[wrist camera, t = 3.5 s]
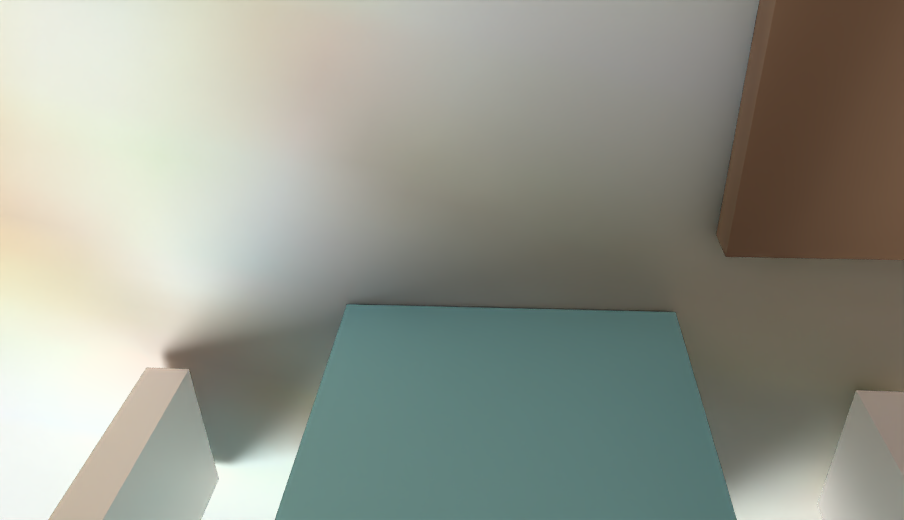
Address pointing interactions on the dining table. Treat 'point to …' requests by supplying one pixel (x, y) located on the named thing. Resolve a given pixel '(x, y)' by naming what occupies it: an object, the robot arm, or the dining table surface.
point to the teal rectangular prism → (506, 420)
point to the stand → (819, 134)
